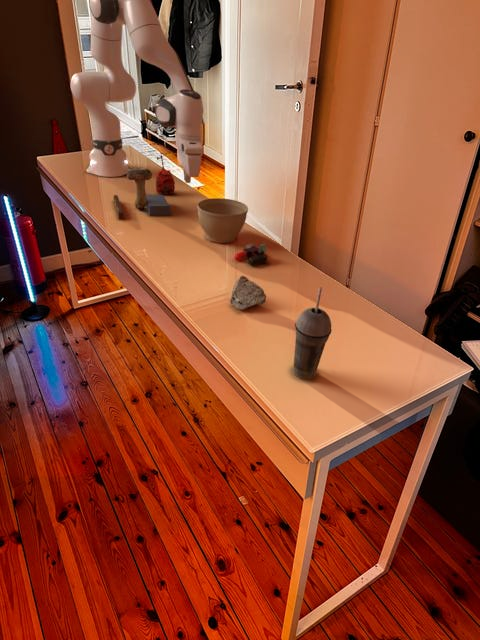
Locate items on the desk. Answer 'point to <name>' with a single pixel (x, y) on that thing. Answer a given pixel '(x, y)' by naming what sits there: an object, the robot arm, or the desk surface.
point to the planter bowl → (221, 218)
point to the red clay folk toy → (164, 181)
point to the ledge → (118, 207)
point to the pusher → (157, 205)
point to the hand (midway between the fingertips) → (187, 181)
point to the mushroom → (140, 185)
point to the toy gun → (253, 254)
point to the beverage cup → (310, 340)
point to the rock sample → (246, 294)
